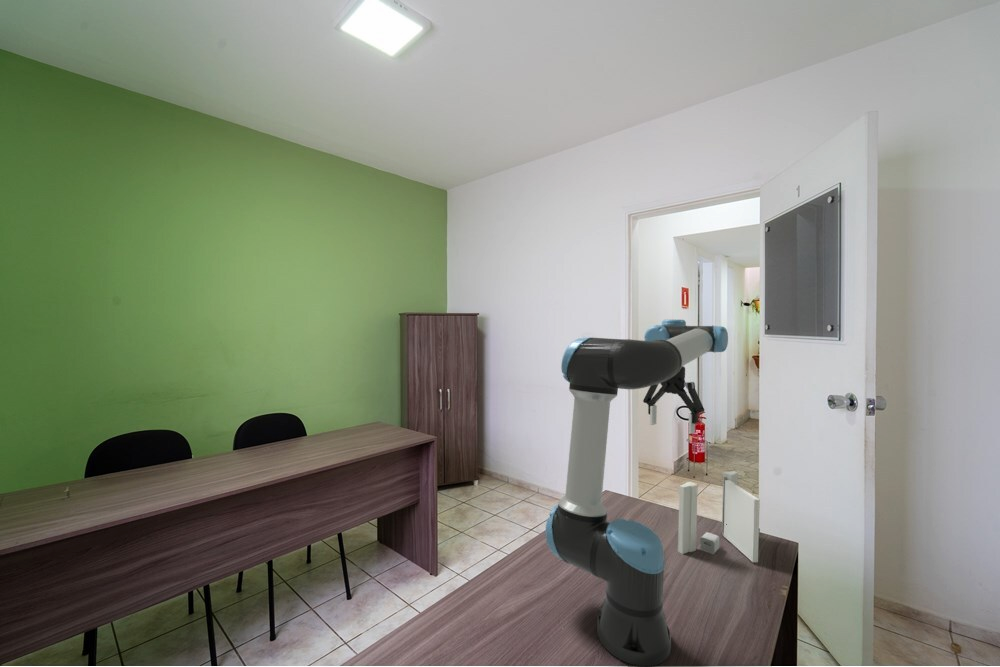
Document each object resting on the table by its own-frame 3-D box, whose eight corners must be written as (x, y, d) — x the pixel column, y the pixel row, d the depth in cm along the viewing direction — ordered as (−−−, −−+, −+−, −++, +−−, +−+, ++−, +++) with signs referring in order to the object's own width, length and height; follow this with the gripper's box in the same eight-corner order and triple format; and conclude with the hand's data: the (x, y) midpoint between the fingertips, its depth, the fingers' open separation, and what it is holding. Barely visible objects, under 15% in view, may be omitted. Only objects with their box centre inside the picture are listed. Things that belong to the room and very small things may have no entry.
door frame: (683, 555, 118) (685, 487, 118) (676, 550, 121) (677, 484, 120) (737, 533, 131) (739, 473, 130) (730, 530, 133) (731, 470, 132)
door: (723, 536, 128) (725, 480, 128) (731, 536, 128) (733, 480, 128) (752, 562, 114) (754, 499, 114) (761, 562, 114) (763, 499, 114)
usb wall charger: (700, 549, 121) (700, 536, 121) (708, 540, 126) (708, 528, 126) (714, 555, 119) (714, 541, 119) (722, 546, 124) (722, 533, 123)
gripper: (716, 368, 127) (715, 435, 127) (645, 361, 147) (644, 419, 147) (705, 370, 122) (703, 439, 123) (633, 362, 142) (632, 422, 143)
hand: (671, 428), depth 135 cm, fingers open, 13 cm apart
